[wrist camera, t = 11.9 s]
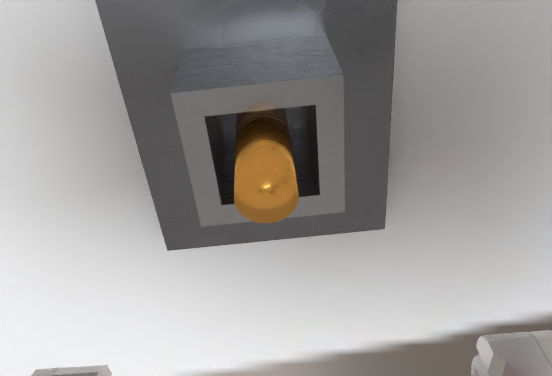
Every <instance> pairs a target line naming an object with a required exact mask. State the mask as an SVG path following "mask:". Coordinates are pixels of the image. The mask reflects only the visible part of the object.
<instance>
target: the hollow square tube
mask: <svg viewBox="0 0 552 376" xmlns="http://www.w3.org/2000/svg"><path fill="white" fill-rule="evenodd" d="M171 98H172V102H173V106H174V111H175V115H176V119H177V124H178V128H179V132H180V137H181V141H182V145H183V150H184V154H185V158H186V163H187V167H188V171H189V176H190V180H191V184H192V189H193V193H194V197H195V202H196V206H197V211H198V215H199V219H200V224H201V227H204V226H214V225H224V224H233V223H243V222H253V221H251V220H249V219H247V218H245V217H244V216H243V215H242V214H241V213H240V212H239V211H238V210H237V208H236V206H235V202H234V180H235V148H228V149H225V145H224V140H223V134H222V128H221V122H220V116H219V115H222V114H232V113H241V112H251V111H261V110H270V109H280V108H289V107H299V106H306V112H307V129H308V140H305V141H295V142H291V148H292V154H293V161H294V167H295V174H296V180H297V186H298V193H299V200H298V204H297V206H296V208H295V210H294V211H293V212H292V213H291V214H290V215H289V216H288V217H286V218H292V217H301V216H311V215H321V214H330V213H340V212H345V173H344V77H343V73H342V71H341V68H340V66H339V64H338V61H337V59H336V57H335V54H334V52H333V50H332V47H331V45H330V43H329V40H328V38H327V36H326V34H322V35H312V36H303V37H293V38H284V39H275V40H265V41H256V42H246V43H237V44H227V45H218V46H209V47H199V48H190V49H184V50H183V54H182V57H181V60H180V64H179V67H178V70H177V74H176V77H175V80H174V84H173V87H172V90H171Z"/></svg>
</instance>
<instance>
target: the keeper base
mask: <svg viewBox="0 0 552 376" xmlns="http://www.w3.org/2000/svg"><path fill="white" fill-rule="evenodd" d="M96 4H97V7H98V11H99V14H100V18H101V21H102V25H103V28H104V32H105V35H106V39H107V42H108V45H109V49H110V52H111V56H112V59H113V63H114V66H115V70H116V73H117V77H118V80H119V84H120V87H121V91H122V94H123V98H124V101H125V104H126V108H127V111H128V115H129V118H130V122H131V125H132V129H133V132H134V136H135V139H136V143H137V146H138V150H139V153H140V157H141V160H142V163H143V167H144V170H145V174H146V177H147V181H148V184H149V188H150V191H151V195H152V198H153V202H154V205H155V209H156V212H157V215H158V219H159V222H160V226H161V229H162V233H163V236H164V240H165V243H166V247H167V250H168V251H169V250H179V249H189V248H199V247H209V246H219V245H229V244H239V243H249V242H259V241H269V240H279V239H289V238H299V237H309V236H319V235H329V234H338V233H348V232H358V231H368V230H378V229H385V215H386V196H387V178H388V159H389V141H390V122H391V104H392V86H393V67H394V49H395V30H396V12H397V0H96ZM322 34H326V36H327V38H328V40H329V43H330V45H331V47H332V50H333V52H334V54H335V57H336V59H337V61H338V64H339V66H340V68H341V71H342V73H343V77H344V173H345V212H340V213H330V214H321V215H311V216H301V217H292V218H286V217H288V216H289V215H290V214H291V213H292V212H293V211H294V210H295V208H296V206H297V204H298V200H299V193H298V186H297V180H296V174H295V167H294V161H293V154H292V148H291V142H295V141H305V140H308V129H307V112H306V106H299V107H289V108H280V109H270V110H261V111H251V112H241V113H232V114H222V115H219V116H220V122H221V128H222V134H223V140H224V145H225V149H228V148H235V180H234V202H235V206H236V208H237V210H238V211H239V212H240V213H241V214H242V215H243V216H244V217H245V218H247V219H249V220H251V221H253V222H243V223H233V224H224V225H214V226H204V227H201V224H200V219H199V215H198V211H197V206H196V202H195V197H194V193H193V189H192V184H191V180H190V176H189V171H188V167H187V163H186V158H185V154H184V150H183V145H182V141H181V137H180V132H179V128H178V124H177V119H176V115H175V111H174V106H173V102H172V98H171V90H172V87H173V84H174V80H175V77H176V74H177V70H178V67H179V64H180V60H181V57H182V54H183V50H184V49H190V48H199V47H209V46H218V45H227V44H237V43H246V42H256V41H265V40H275V39H284V38H293V37H303V36H312V35H322Z"/></svg>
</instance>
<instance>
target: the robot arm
mask: <svg viewBox="0 0 552 376" xmlns="http://www.w3.org/2000/svg"><path fill="white" fill-rule="evenodd" d="M476 347H477V349H478V352H479V354H478V355H477V356H476V357H475V358H473V361H472V367H471V373H472V376H552V331H549V330H547V331H537V332H518V333H507V334H496V335H486V336H481V337H480V338H479V339H478V342H477V345H476ZM111 374H112V373H111V372H110V370H109V368H108V366H107V365H100V366H84V367H69V368H51V369H38V370H35V372H34V373H33V374H32V375H31V376H111Z"/></svg>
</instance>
